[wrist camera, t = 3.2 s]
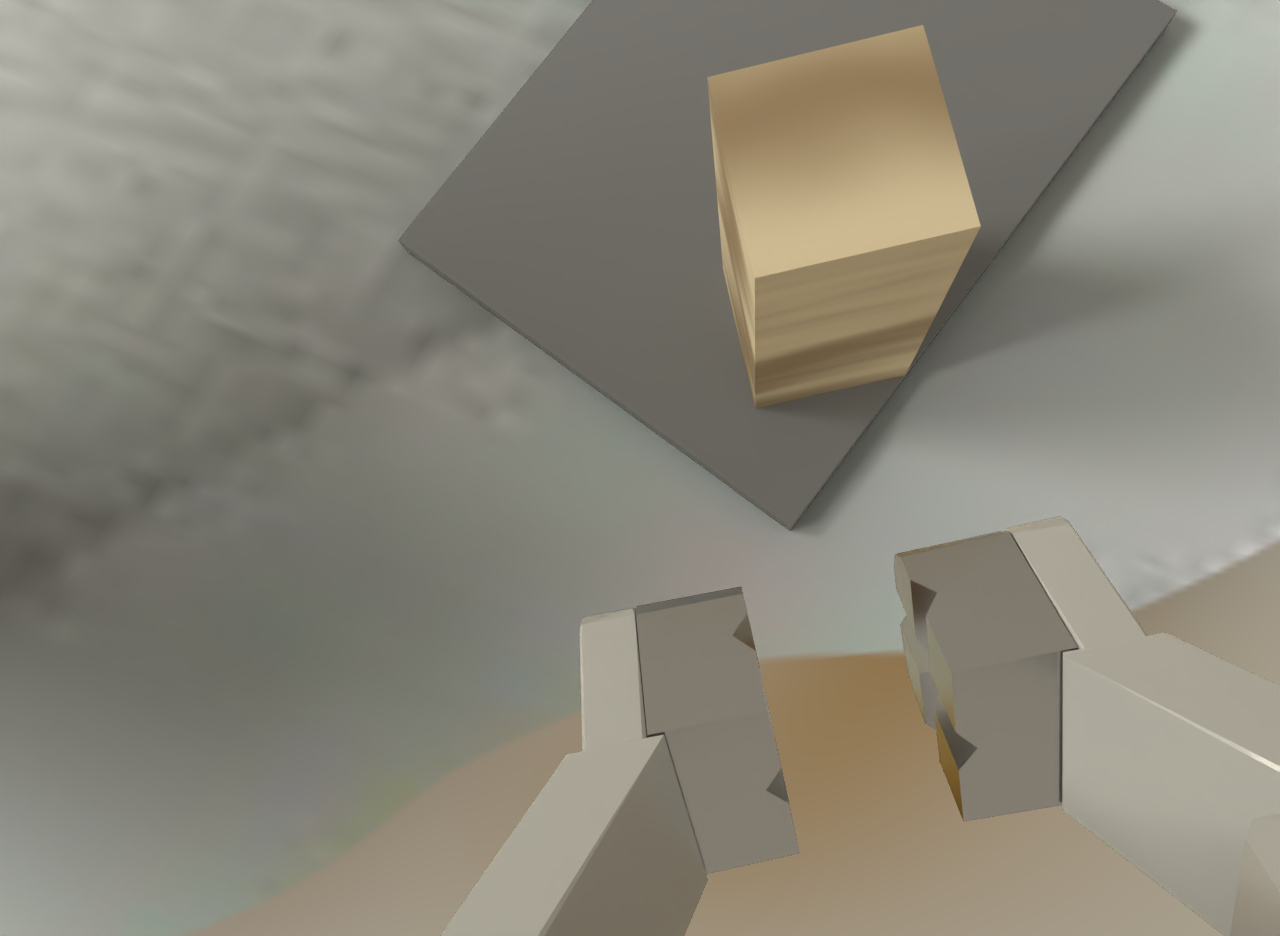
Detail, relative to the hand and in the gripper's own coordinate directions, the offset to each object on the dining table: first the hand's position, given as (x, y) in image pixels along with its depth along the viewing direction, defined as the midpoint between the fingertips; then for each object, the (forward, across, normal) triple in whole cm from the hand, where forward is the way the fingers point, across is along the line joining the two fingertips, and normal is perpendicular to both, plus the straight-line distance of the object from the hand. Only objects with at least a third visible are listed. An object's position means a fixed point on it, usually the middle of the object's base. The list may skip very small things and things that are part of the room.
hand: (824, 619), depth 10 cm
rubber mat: (+30, -4, +6) cm, 31 cm away
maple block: (+25, -4, +10) cm, 27 cm away
